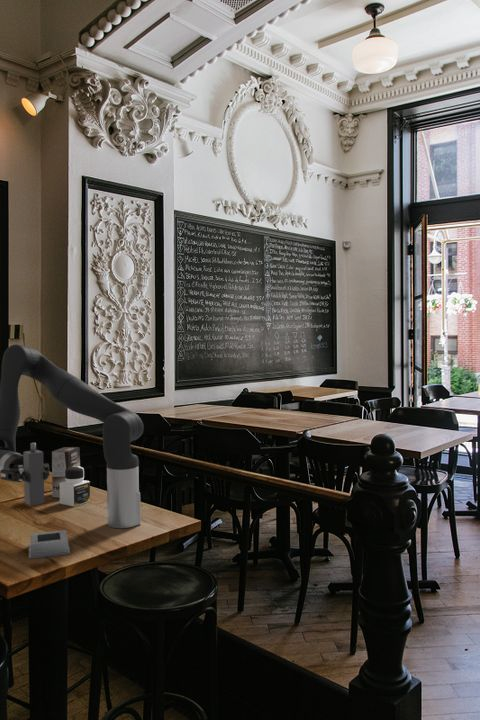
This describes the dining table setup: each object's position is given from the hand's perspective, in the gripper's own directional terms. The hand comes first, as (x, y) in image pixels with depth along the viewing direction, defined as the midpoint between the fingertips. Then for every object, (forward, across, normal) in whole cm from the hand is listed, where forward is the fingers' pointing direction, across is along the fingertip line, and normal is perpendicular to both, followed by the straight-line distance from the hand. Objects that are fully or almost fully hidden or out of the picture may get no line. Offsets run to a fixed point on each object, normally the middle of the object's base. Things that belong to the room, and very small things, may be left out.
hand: (37, 477), depth 161 cm
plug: (-3, 0, +8) cm, 8 cm away
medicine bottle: (-30, +23, +18) cm, 42 cm away
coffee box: (-42, +26, +18) cm, 52 cm away
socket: (+8, 0, +18) cm, 19 cm away
